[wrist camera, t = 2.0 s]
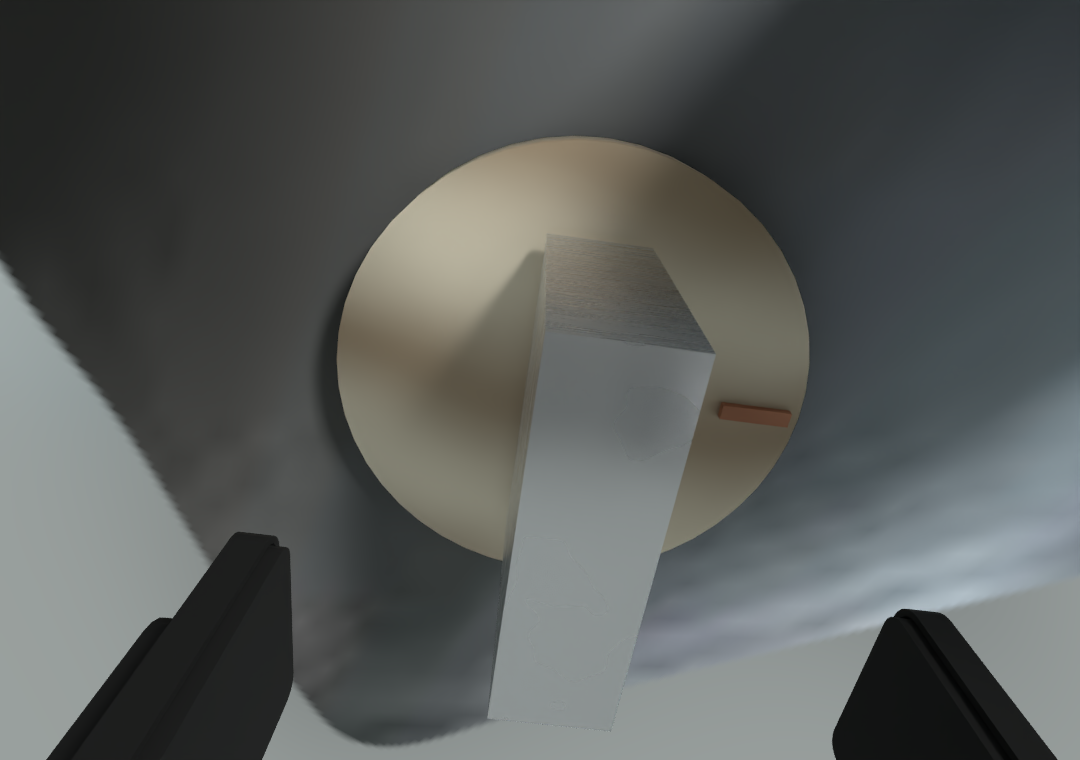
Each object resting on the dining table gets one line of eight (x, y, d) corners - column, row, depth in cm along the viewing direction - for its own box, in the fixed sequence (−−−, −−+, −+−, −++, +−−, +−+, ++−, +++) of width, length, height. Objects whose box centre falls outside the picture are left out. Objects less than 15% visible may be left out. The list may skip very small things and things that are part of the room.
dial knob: (547, 233, 14) (545, 331, 9) (653, 247, 14) (716, 354, 9) (500, 562, 18) (479, 768, 13) (583, 572, 18) (597, 779, 13)
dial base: (355, 100, 15) (333, 103, 13) (852, 173, 15) (886, 184, 14) (351, 513, 20) (335, 549, 19) (724, 557, 21) (738, 595, 19)
